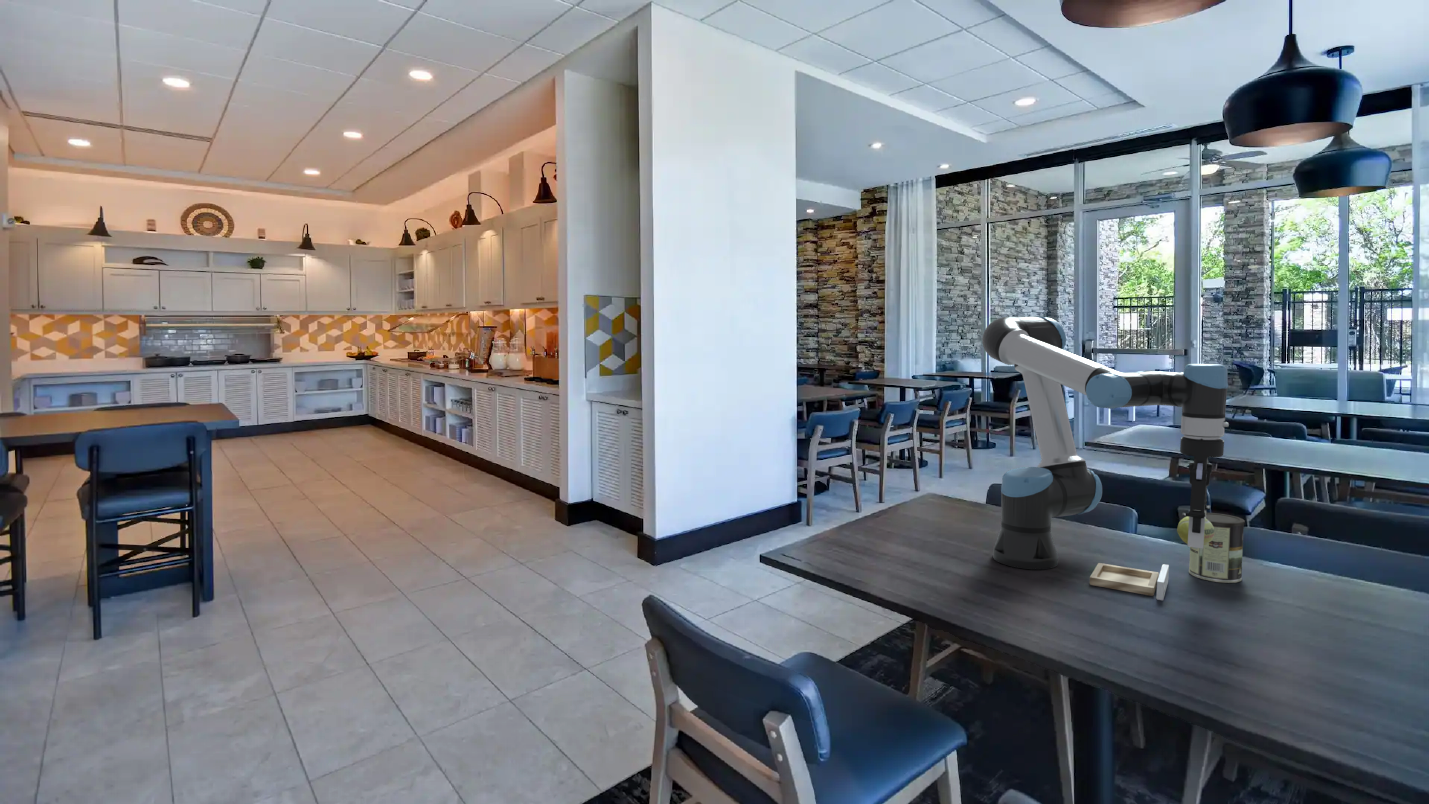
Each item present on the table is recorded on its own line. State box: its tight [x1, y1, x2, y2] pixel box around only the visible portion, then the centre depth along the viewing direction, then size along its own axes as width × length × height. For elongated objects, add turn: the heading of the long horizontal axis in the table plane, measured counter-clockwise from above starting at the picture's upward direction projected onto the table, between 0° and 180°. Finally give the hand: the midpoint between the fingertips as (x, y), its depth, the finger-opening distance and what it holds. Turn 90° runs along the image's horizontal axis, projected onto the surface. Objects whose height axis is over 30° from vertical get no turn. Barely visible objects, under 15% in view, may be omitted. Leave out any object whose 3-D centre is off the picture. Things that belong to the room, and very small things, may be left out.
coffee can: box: [1188, 512, 1246, 584], centre depth 161 cm, size 10×10×14 cm
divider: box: [1155, 563, 1170, 601], centre depth 153 cm, size 1×14×4 cm, turn 143°
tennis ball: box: [1176, 516, 1214, 545], centre depth 147 cm, size 6×7×7 cm
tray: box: [1089, 562, 1160, 597], centre depth 158 cm, size 12×12×2 cm
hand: (1196, 542), depth 147 cm, fingers closed on tennis ball, 6 cm apart
